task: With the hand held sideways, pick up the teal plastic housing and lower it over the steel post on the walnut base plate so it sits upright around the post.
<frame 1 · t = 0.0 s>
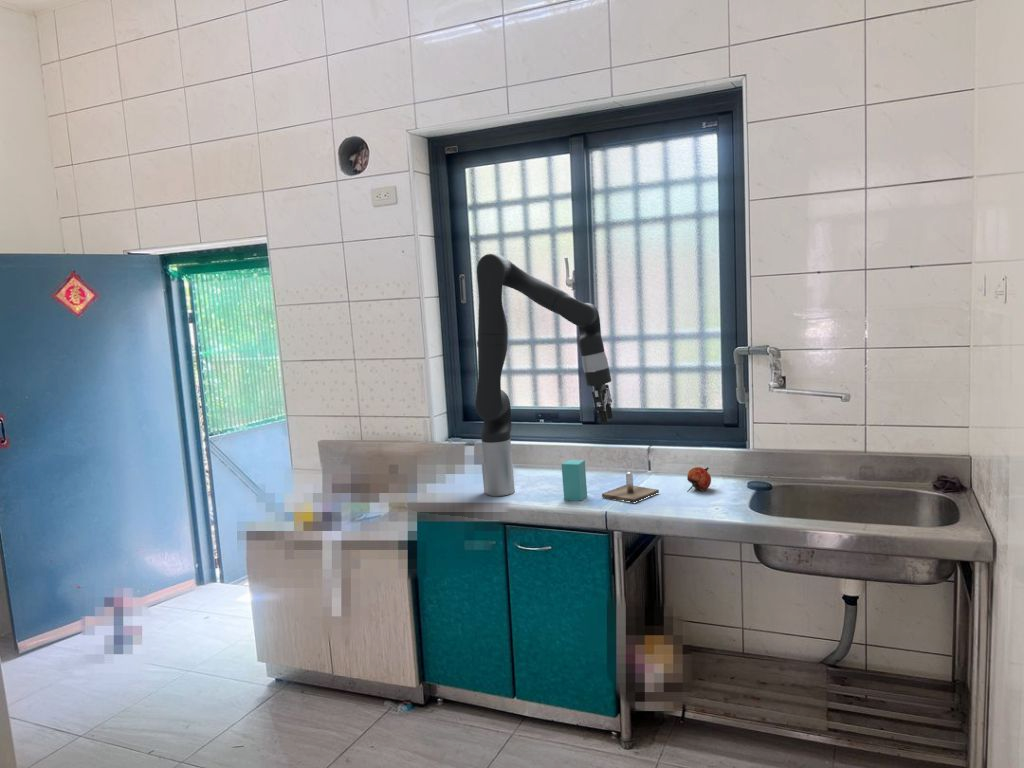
hand: (607, 421, 219), 22 cm above the worktop, tool pointing down, fingers open, 8 cm apart
base plate: (630, 495, 218), on the worktop
post: (629, 482, 217), on the base plate, point 4 cm above the worktop
housing: (575, 497, 220), on the worktop
pomegranate: (698, 490, 218), on the worktop
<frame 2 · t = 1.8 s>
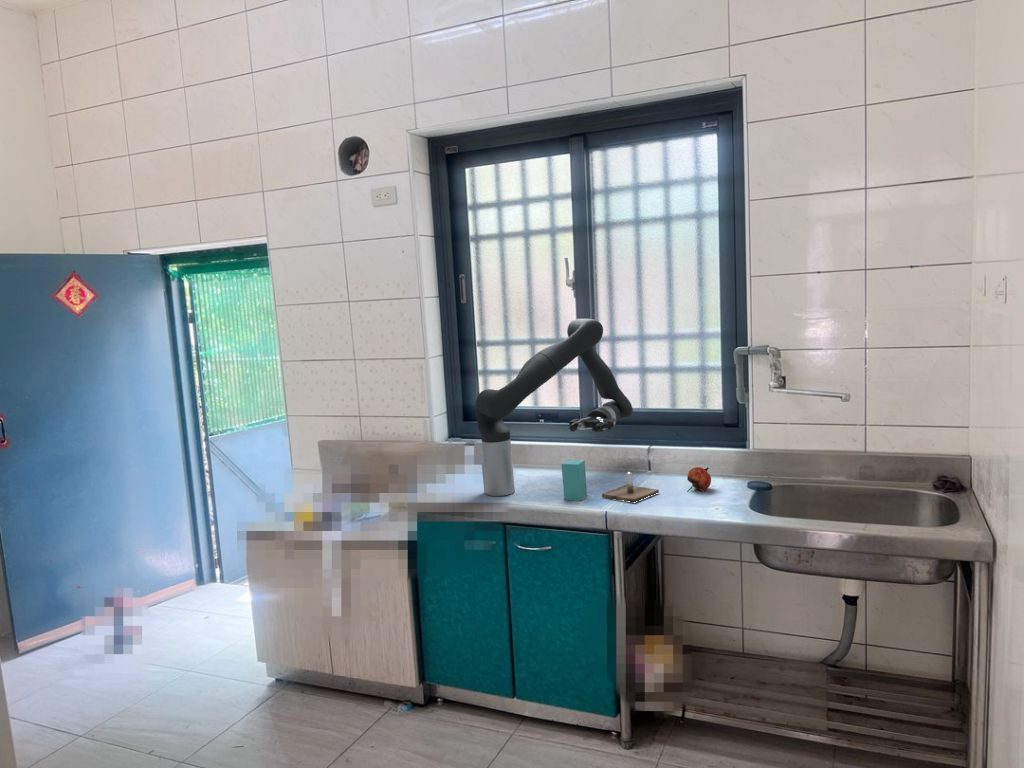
hand: (584, 428, 228), 19 cm above the worktop, tool horizontal, fingers open, 8 cm apart
nothing on the worktop moved.
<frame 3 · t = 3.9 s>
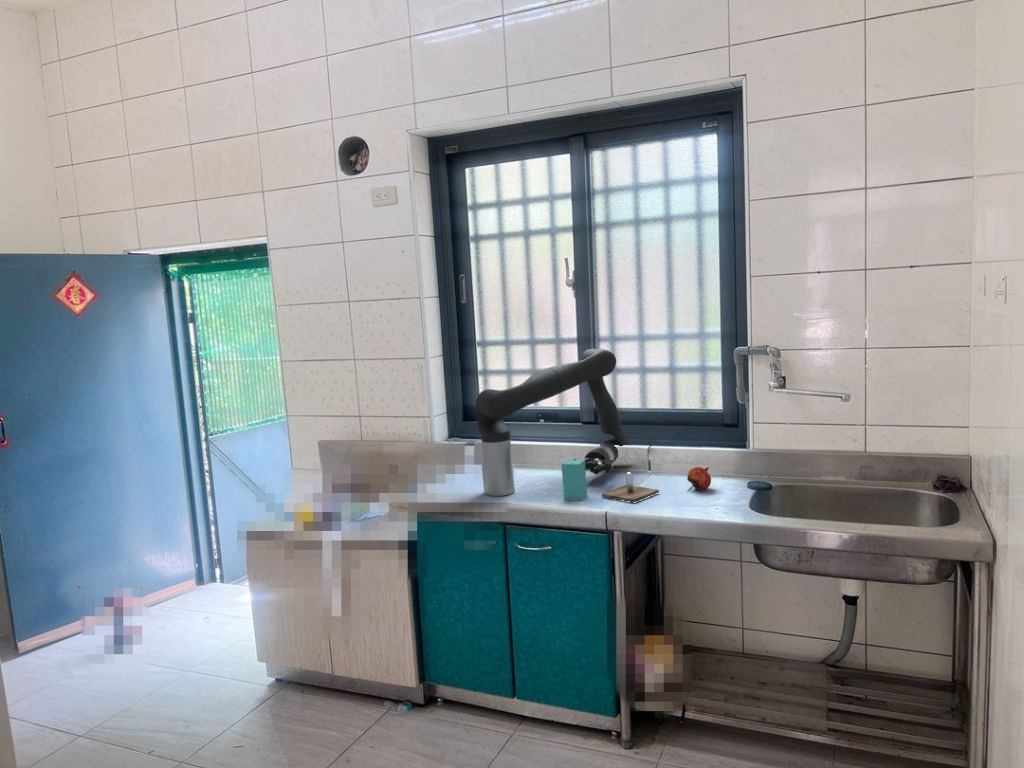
hand: (582, 470, 226), 7 cm above the worktop, tool horizontal, fingers open, 8 cm apart
nothing on the worktop moved.
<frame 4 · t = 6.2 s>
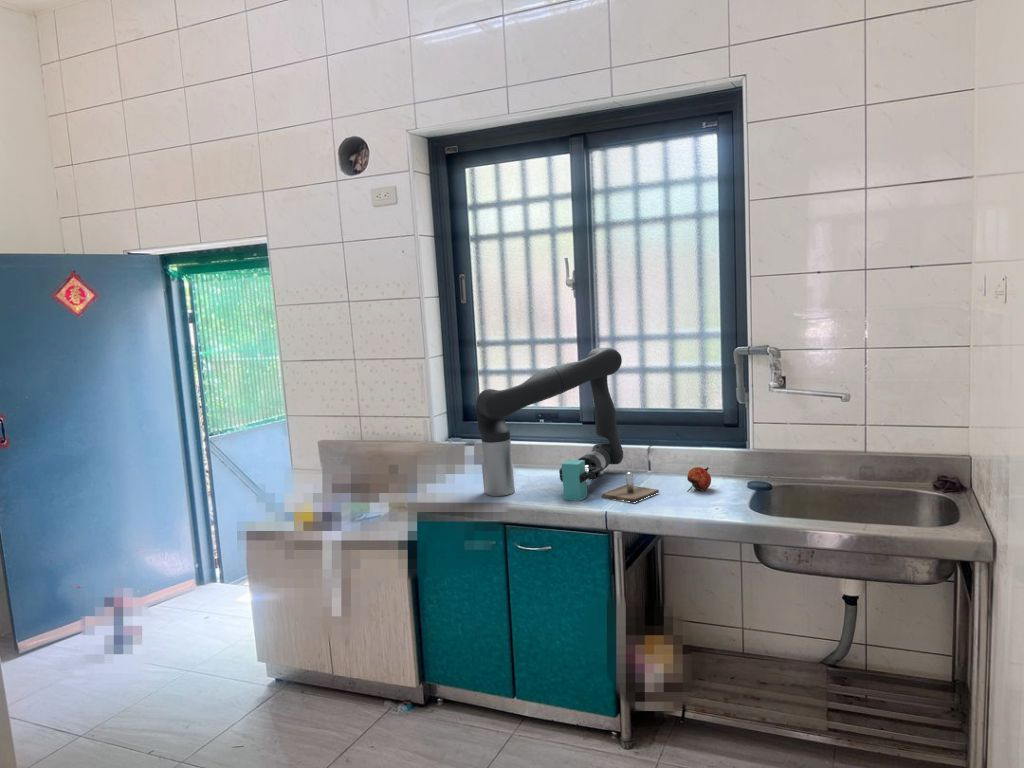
hand: (571, 478, 217), 7 cm above the worktop, tool horizontal, fingers closed on housing, 5 cm apart
housing: (575, 497, 220), on the worktop, touching gripper
everything else where it was.
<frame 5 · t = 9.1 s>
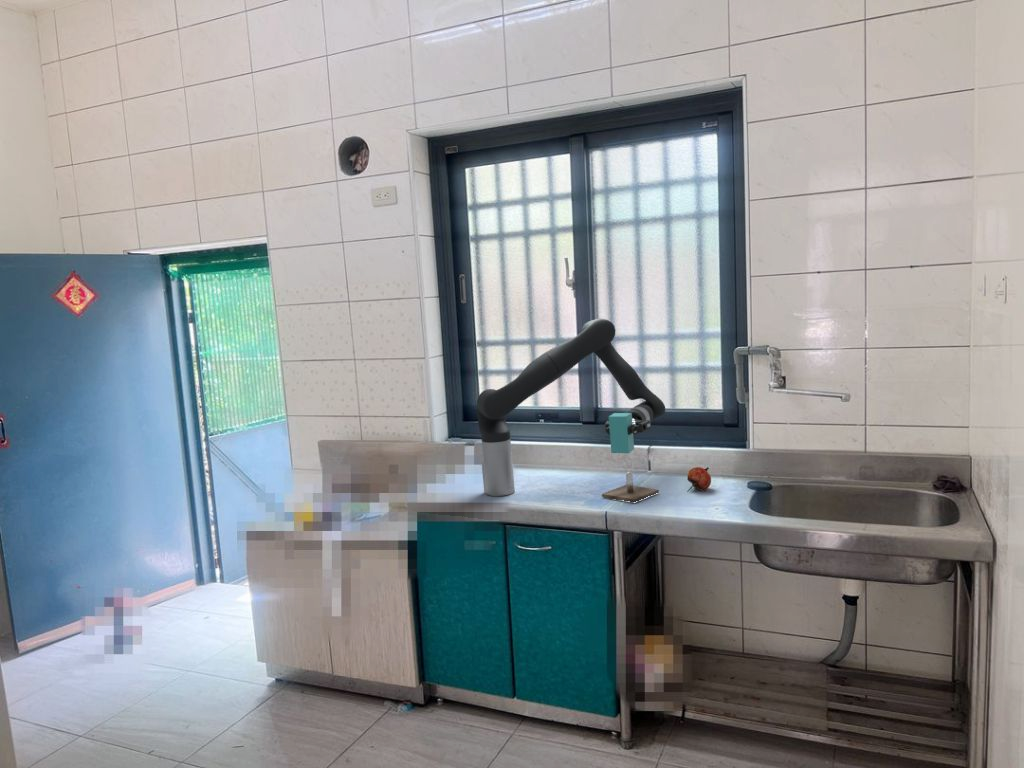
hand: (618, 431, 214), 20 cm above the worktop, tool horizontal, fingers closed on housing, 5 cm apart
housing: (622, 451, 217), point 14 cm above the worktop, touching gripper
everything else where it was.
when the fingers open (9 cm above the worktop, at t = 12.2 s): housing drops 1 cm, resting on base plate.
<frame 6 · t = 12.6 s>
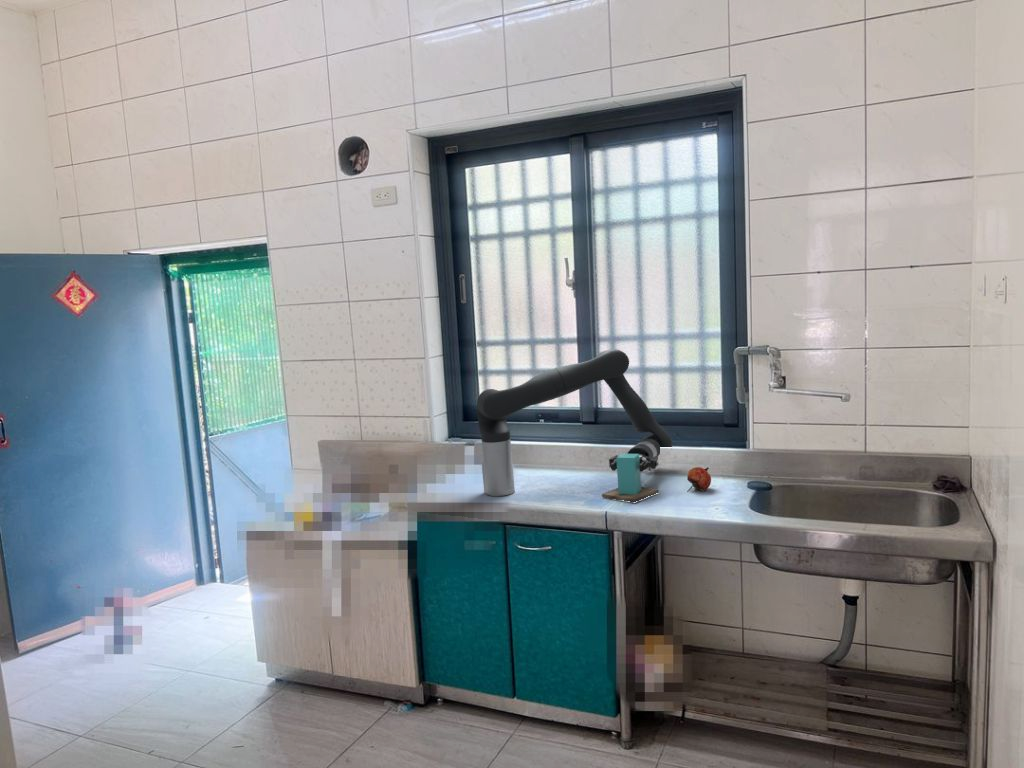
hand: (626, 467, 215), 9 cm above the worktop, tool horizontal, fingers open, 8 cm apart
housing: (630, 491, 218), point 1 cm above the worktop, touching base plate
everything else where it was.
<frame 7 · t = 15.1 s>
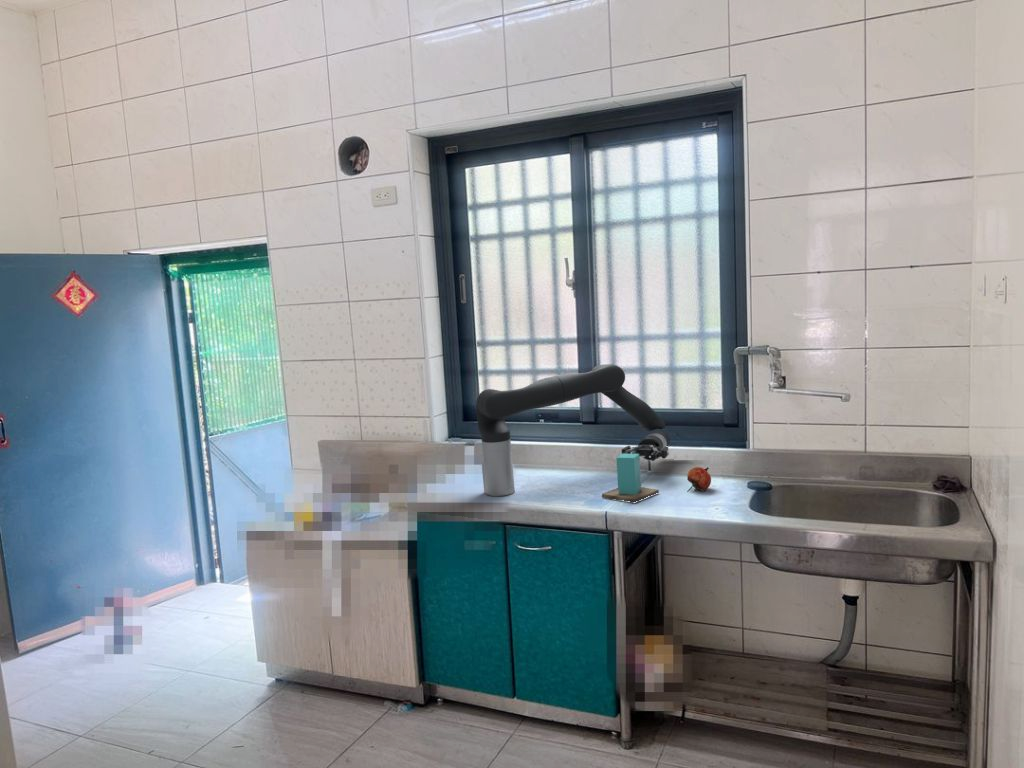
hand: (638, 457, 226), 9 cm above the worktop, tool horizontal, fingers open, 8 cm apart
nothing on the worktop moved.
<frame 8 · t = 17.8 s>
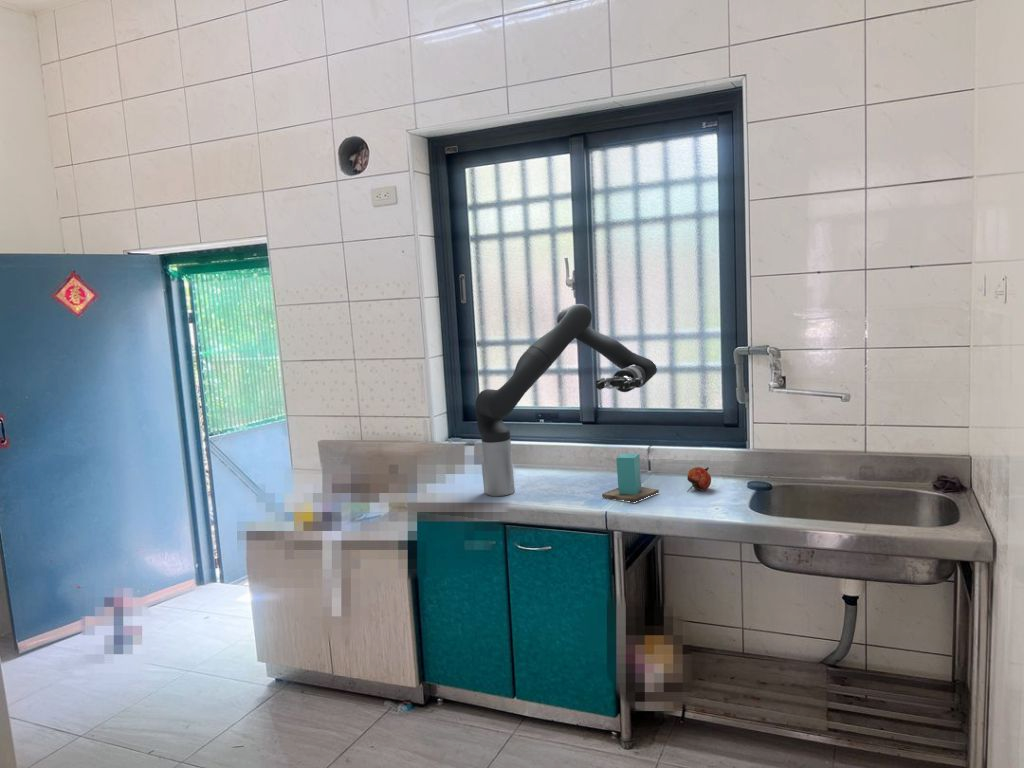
hand: (612, 386, 225), 32 cm above the worktop, tool horizontal, fingers open, 8 cm apart
nothing on the worktop moved.
at the end: housing 0.0 cm off-centre on the base plate, point 1.2 cm above the base plate's base; housing tilted 0°; the gripper is holding nothing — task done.
